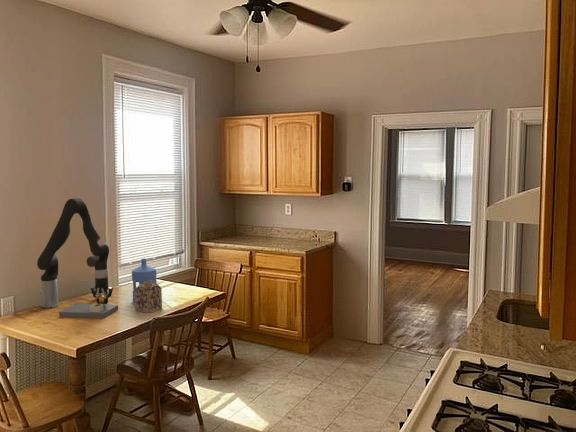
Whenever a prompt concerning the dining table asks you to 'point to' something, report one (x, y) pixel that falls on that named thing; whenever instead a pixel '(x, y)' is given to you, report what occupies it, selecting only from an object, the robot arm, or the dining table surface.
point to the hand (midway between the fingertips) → (102, 303)
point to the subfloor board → (87, 311)
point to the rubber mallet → (92, 263)
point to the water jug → (143, 275)
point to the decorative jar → (148, 297)
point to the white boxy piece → (96, 308)
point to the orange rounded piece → (102, 300)
